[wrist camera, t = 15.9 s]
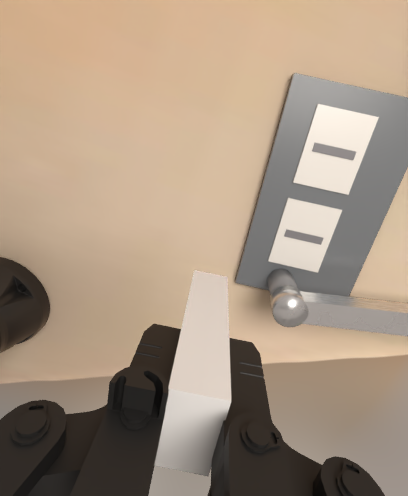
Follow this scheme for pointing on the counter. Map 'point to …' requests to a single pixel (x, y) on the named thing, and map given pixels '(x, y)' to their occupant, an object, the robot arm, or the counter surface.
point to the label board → (325, 186)
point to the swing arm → (338, 311)
